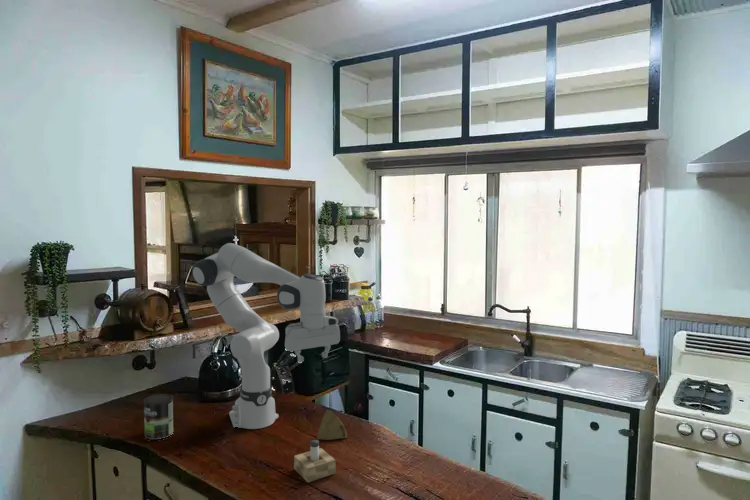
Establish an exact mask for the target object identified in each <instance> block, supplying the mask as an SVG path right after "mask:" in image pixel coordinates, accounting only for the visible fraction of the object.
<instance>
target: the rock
mask: <svg viewBox="0 0 750 500" xmlns="http://www.w3.org/2000/svg"><path fill="white" fill-rule="evenodd" d="M346 438H348V433H347V429H346V428H345V425H344V424H343V422H342V420H340V418H339V417H338V416H337V415H336V414H334V412H332V410H329V409H326V410H325V412H324V414H323V417H322V419H321V422H320V426H319V428H318V432H317V435H316V440H318V441H319V440H324V441H325V440H327V441H329V440H340V439H346Z"/></svg>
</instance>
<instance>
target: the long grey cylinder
mask: <svg viewBox="0 0 750 500" xmlns="http://www.w3.org/2000/svg"><path fill="white" fill-rule="evenodd" d="M319 448H320V440H319V439H318V440H317V439H312V440H310V450H309V451H310V461H311V462H315V461H318V460H319Z"/></svg>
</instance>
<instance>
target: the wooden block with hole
mask: <svg viewBox="0 0 750 500" xmlns="http://www.w3.org/2000/svg"><path fill="white" fill-rule="evenodd" d="M336 462H337V461H336V459H335V458H334V457H333V456H331V455H330V454H329V453H328V452H327V451H325V450H324V449H323V448H322V447H319V460H318V461H315V462H311V461H310V450H309V451H306V452H303V453H299V454H295V455H294V457H293V470H295V471H296V473H298V474H299V475H300V477H302V478H303V480H305V481H306V482H307V483H311V482H314V481H317V480H320V479H323V478H325V477H329V476H332V475H335V474H336Z"/></svg>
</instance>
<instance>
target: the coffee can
mask: <svg viewBox="0 0 750 500" xmlns="http://www.w3.org/2000/svg"><path fill="white" fill-rule="evenodd" d="M143 416H144V417H143V418H144V422H143V423H144V424H143V425H144V429H143V430H144V436H145V437H146V438H149V439H161V438H165V437H168V436H170V435H172V434H173V435H174V433H173V432H174V396H173V395H171V394H170V393H169V394H167V393H158V394H153V395H149V396H147V397H145V398H144V399H143ZM173 435H172V436H173ZM170 437H171V436H170Z"/></svg>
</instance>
